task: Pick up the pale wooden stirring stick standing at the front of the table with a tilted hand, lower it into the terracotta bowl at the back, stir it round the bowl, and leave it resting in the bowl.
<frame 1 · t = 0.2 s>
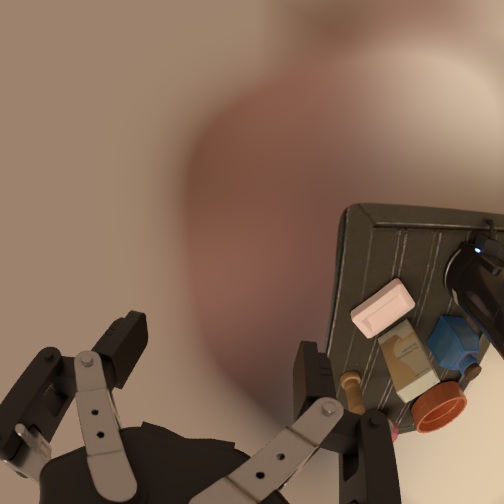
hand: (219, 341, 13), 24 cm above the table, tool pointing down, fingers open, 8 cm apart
apple: (372, 415, 50), on the table
stick: (349, 377, 45), on the table
bowl: (434, 398, 47), on the table
blue potion bottle: (445, 329, 40), on the table
soap bar: (380, 304, 39), on the table
cosmetic box: (395, 335, 41), on the table
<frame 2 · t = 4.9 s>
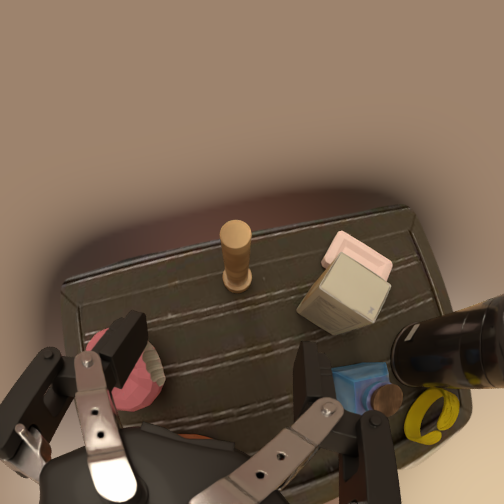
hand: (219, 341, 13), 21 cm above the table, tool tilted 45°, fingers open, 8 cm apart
apple: (141, 368, 31), on the table
bracelet: (438, 422, 26), point 3 cm above the table
stick: (237, 279, 36), on the table
blue potion bottle: (343, 389, 31), on the table
soap bar: (354, 267, 37), on the table
cosmetic box: (321, 310, 35), on the table
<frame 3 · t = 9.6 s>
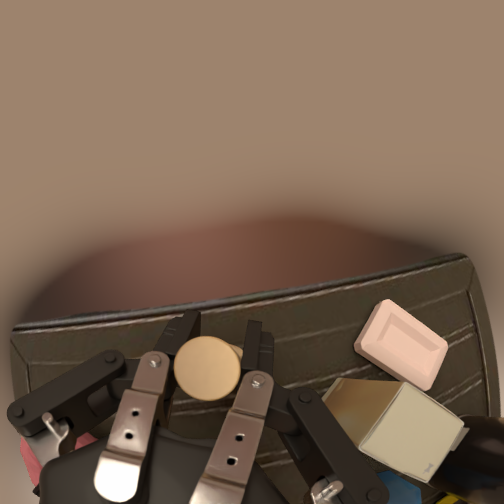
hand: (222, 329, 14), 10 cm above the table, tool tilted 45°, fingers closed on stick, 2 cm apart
apple: (98, 455, 18), on the table
stick: (228, 365, 23), on the table, touching gripper
blue potion bottle: (357, 499, 17), on the table
soap bar: (397, 349, 23), on the table
cosmetic box: (346, 410, 21), on the table
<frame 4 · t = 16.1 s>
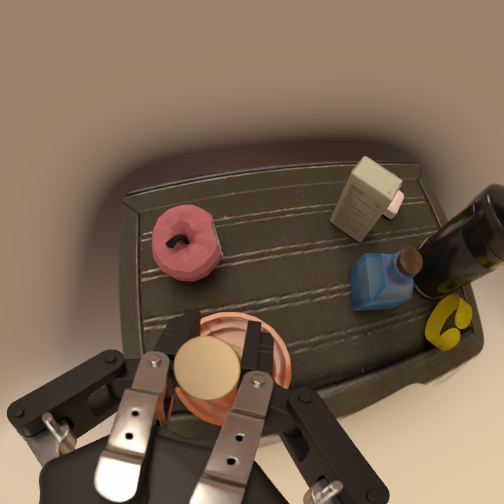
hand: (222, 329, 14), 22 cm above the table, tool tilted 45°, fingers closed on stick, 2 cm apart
apple: (194, 260, 40), on the table
bracelet: (455, 332, 32), point 3 cm above the table
stick: (228, 365, 23), point 12 cm above the table, touching gripper
bowl: (233, 368, 34), on the table
blue potion bottle: (369, 289, 38), on the table
soap bar: (374, 197, 44), on the table
cosmetic box: (349, 223, 42), on the table
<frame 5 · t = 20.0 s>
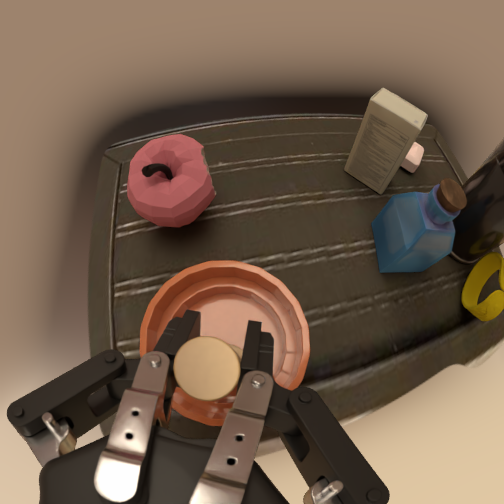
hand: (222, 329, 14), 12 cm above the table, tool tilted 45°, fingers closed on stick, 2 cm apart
apple: (181, 210, 31), on the table
bracelet: (495, 300, 24), point 3 cm above the table
stick: (228, 365, 23), point 2 cm above the table, touching gripper
bowl: (227, 347, 26), on the table
blue potion bottle: (396, 248, 30), on the table
soap bar: (390, 150, 36), on the table
cosmetic box: (366, 174, 34), on the table
when the fingers open (11 cm above the table, at t = 23.0 s): stick stays where it is, resting on bowl.
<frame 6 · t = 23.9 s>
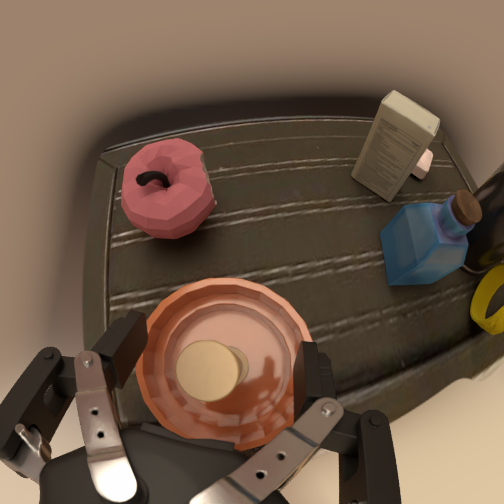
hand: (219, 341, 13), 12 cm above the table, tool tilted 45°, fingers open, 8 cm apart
apple: (179, 219, 30), on the table
stick: (228, 366, 23), point 1 cm above the table, touching bowl
bowl: (228, 365, 24), on the table
blue potion bottle: (405, 259, 29), on the table
soap bar: (398, 155, 35), on the table
cosmetic box: (374, 180, 33), on the table
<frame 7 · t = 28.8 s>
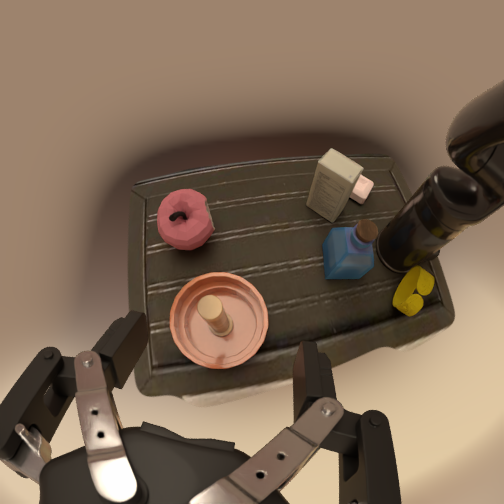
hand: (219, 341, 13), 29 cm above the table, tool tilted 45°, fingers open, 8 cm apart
apple: (191, 236, 47), on the table
bracelet: (421, 301, 40), point 3 cm above the table
stick: (221, 325, 41), point 1 cm above the table, touching bowl
bowl: (221, 325, 42), on the table
blue potion bottle: (340, 262, 46), on the table
soap bar: (346, 186, 52), on the table
cosmetic box: (323, 207, 50), on the table
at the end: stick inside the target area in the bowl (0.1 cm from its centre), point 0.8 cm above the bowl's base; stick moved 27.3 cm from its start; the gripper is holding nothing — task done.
